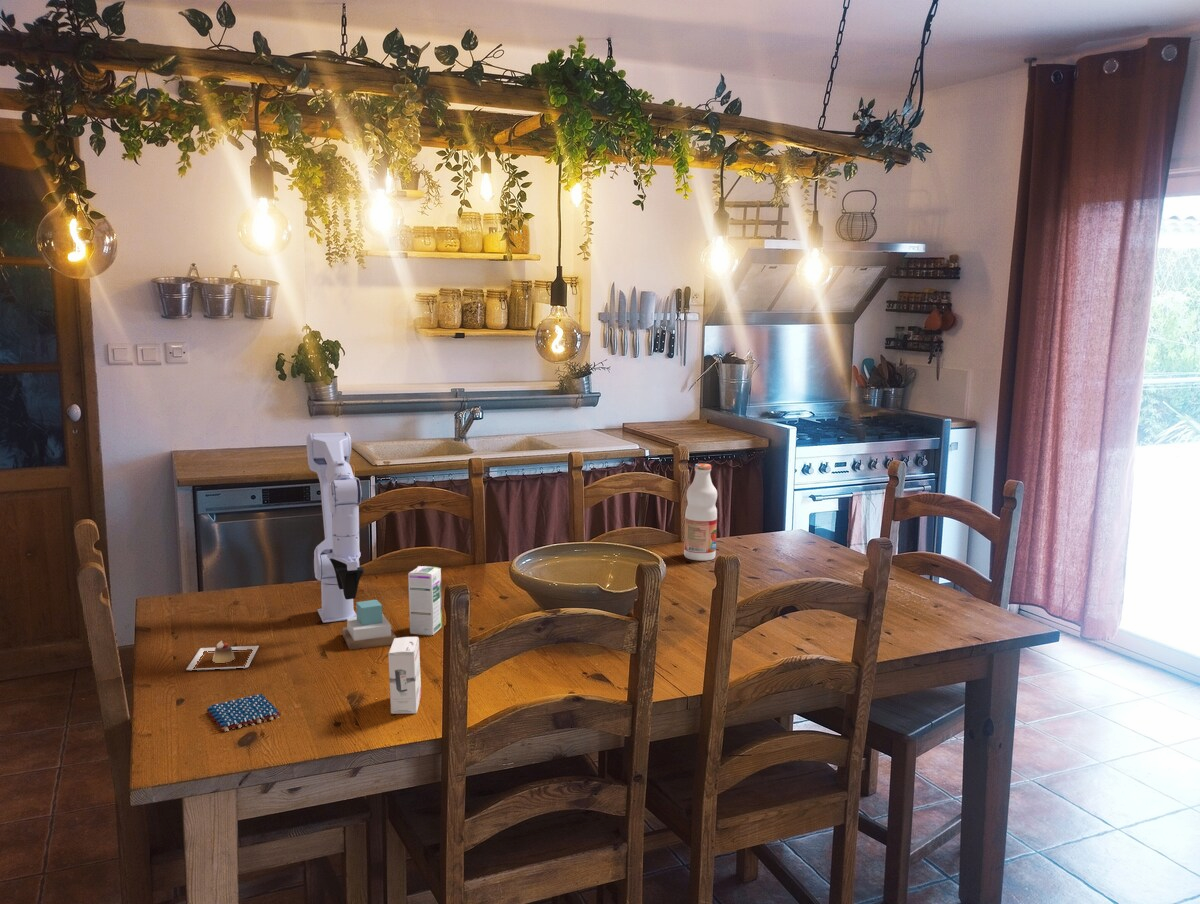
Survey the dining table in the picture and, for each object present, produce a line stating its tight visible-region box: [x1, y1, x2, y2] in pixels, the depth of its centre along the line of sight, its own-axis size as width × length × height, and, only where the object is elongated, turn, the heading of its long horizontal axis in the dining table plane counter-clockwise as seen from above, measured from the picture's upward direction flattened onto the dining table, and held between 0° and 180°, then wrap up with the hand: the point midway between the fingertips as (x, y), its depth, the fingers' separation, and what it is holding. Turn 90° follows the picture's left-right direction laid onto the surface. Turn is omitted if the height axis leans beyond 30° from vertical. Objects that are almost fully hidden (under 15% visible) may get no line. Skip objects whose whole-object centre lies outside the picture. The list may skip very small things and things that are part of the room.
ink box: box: [387, 636, 422, 715], centre depth 178 cm, size 9×5×12 cm, turn 5°
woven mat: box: [206, 693, 281, 733], centre depth 173 cm, size 10×11×2 cm
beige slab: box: [341, 626, 397, 650], centre depth 212 cm, size 10×10×2 cm
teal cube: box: [355, 599, 383, 626], centre depth 211 cm, size 4×4×4 cm
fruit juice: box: [683, 463, 718, 562], centre depth 283 cm, size 9×9×28 cm
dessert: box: [185, 639, 260, 672], centre depth 198 cm, size 12×12×5 cm
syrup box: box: [407, 565, 443, 636], centre depth 217 cm, size 6×6×14 cm
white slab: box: [346, 613, 392, 641], centre depth 211 cm, size 8×8×2 cm
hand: (347, 593), depth 211 cm, fingers open, 7 cm apart
